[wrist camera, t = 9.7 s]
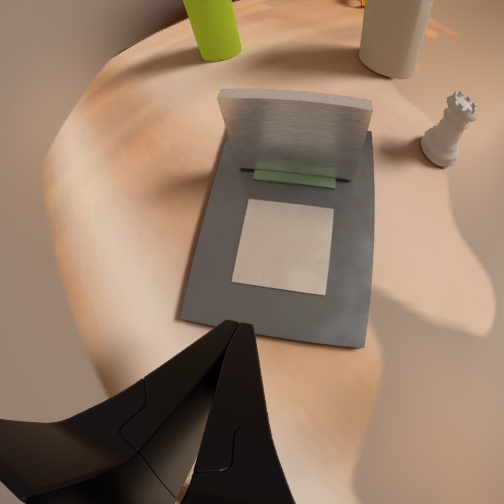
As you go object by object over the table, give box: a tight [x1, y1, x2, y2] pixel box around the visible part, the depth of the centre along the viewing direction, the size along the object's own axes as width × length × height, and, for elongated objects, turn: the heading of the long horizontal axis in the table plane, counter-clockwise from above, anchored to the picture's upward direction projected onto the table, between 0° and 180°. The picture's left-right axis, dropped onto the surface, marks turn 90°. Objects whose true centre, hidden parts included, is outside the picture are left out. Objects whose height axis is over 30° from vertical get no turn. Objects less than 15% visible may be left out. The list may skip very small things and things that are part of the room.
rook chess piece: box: [421, 92, 477, 167], centre depth 21 cm, size 4×4×8 cm
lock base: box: [180, 131, 374, 348], centre depth 21 cm, size 20×14×6 cm
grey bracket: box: [217, 89, 373, 180], centre depth 21 cm, size 6×10×8 cm, turn 80°
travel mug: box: [359, 0, 433, 79], centre depth 21 cm, size 8×8×18 cm
